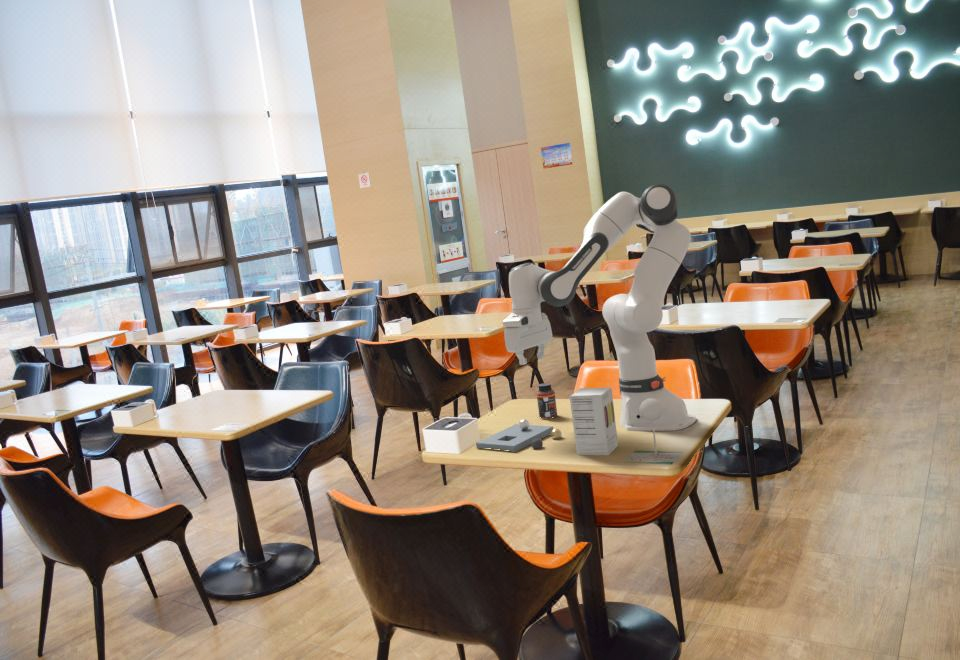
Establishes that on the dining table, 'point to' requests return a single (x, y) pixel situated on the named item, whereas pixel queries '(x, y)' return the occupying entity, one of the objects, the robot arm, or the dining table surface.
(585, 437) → the supplement box
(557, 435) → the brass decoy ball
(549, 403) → the supplement bottle
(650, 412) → the lollipop
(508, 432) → the hole plate
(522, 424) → the steel ball
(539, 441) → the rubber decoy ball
